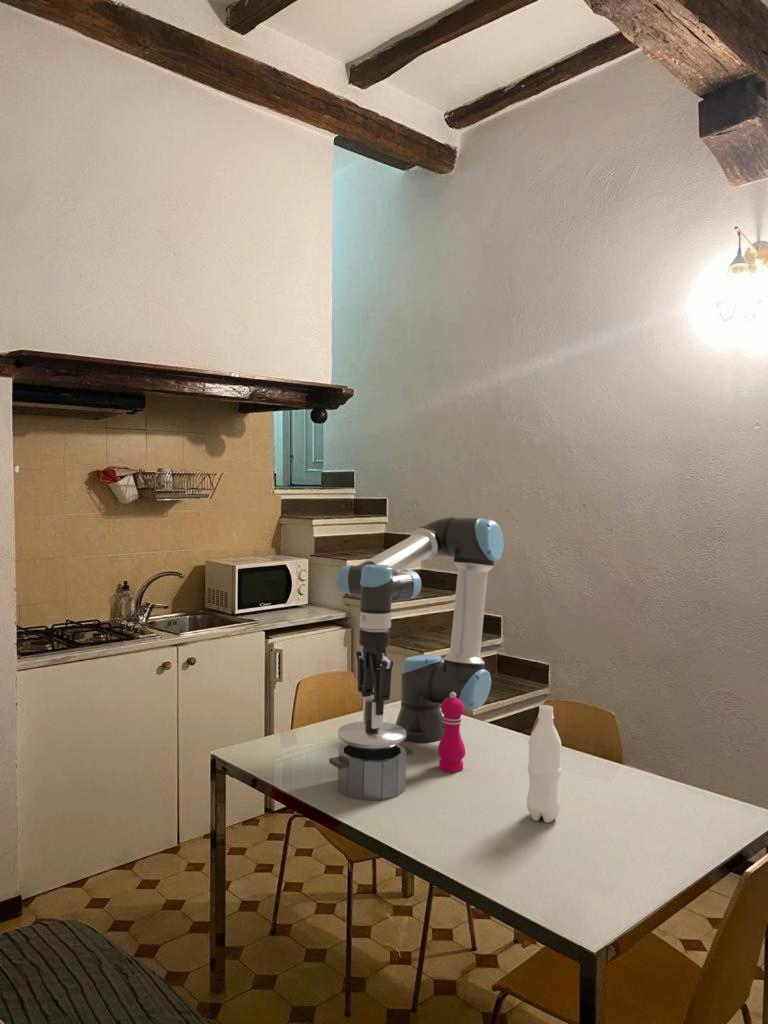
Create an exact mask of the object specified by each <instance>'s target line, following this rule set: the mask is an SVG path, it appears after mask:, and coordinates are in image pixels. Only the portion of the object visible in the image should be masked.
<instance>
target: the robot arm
mask: <svg viewBox="0 0 768 1024" xmlns="http://www.w3.org/2000/svg"><path fill="white" fill-rule="evenodd" d="M504 547H505V541H504V535H503V532H502V530H501V528H500V525H499V524H498V523H497V522H496V521H495V520H492V519H487V518H486V519H485V518H482V517H481V518H474V517H473V518H472V517H471V518H470V517H469V518H467V517H466V518H465V517H454V516H453V517H443V518H439V519H436V520H433V521H431V522H428V523H426V524H424V525H421V526H419V527H418V528H417V529H414V530H413V531H412V532H411V533H410V536H409V537H407V538H405V539H403V540H402V541H399V542H398V543H395V545H393V546H391V547H389V548H388V549H386V550H384V551H382V552H380V553H378V554H376V555H375V556H373V557H371V558H370V559H367V560H366V561H364V562H362V563H360V564H358V565H353V564H350V565H343V566H342V567H340V569H338V572H337V575H336V585H337V586H336V587H337V589H338V590H339V592H340V593H343V594H346V595H351V596H359V597H360V608H359V610H360V614H359V615H360V616H359V627H360V628H361V629H360V630H359V634H358V635H359V637H358V639H359V640H358V641H359V645H360V646H361V647H362V650H360V651H359V650H358V651H356V653H355V655H356V659H357V691H358V692H359V693H361V696H362V721H363V724H365V721H366V702H367V701H372V727H371V728H372V729H375V728H381V727H383V722H384V710H385V709H384V707H385V706H384V705H385V704H384V703H385V701H389V700H390V699H391V683H392V672H393V671H392V670H393V667H394V666H393V665H394V660H393V659H389V658H388V654H387V647H389V646H390V645H391V630H390V628H391V627H392V603H395V602H401V601H408V600H409V601H410V600H412V599H414V598H416V597H417V596H418V595H419V594H420V592H421V590H422V580H421V576H420V575H419V574H418V573H417V572H416V571H415V570H412V569H409V568H411V567H414V566H415V565H416V564H418V563H420V562H421V561H424V560H425V561H428V560H431V559H433V558H435V557H450V558H453V565H454V566H455V568H457V576H456V587H455V596H454V597H455V598H454V606H453V607H454V610H453V617H452V626H451V627H452V630H451V636H450V637H451V638H450V649H449V653H447V655H445V656H444V658H442V656H441V655H439V654H420V655H413V656H409V657H407V658H404V660H403V661H402V664H401V672H400V675H401V682H400V683H401V684H400V685H401V686H400V687H401V688H400V689H401V690H400V693H401V695H400V710H399V712H398V715H397V718H396V722H395V723H394V724H395V725H398V726H401V727H403V728H404V729H405V730H406V739H405V740H404V741H408V742H409V741H411V742H416V743H417V742H418V743H419V742H420V743H424V742H425V743H426V742H427V743H429V742H435V741H441V739H442V737H443V734H444V728H445V726H444V722H443V713H442V711H441V705H442V702H443V701H444V700H445V699H447V698H450V693H451V692H455V693H456V698H458V699H460V700H461V701H462V702H463V704H464V710H470V711H475V710H477V709H479V708H481V707H482V706H483V705H484V703H485V702H486V701H487V699H488V697H489V694H490V692H491V687H492V678H491V673H490V672H489V671H488V670H487V669H485V663H486V662H485V661H484V660H483V658H482V657H481V649H482V648H481V647H482V641H483V640H482V639H483V638H482V637H483V630H484V628H483V627H484V626H483V625H484V617H485V607H486V606H485V604H486V597H487V586H488V575H489V572H490V571H491V570H493V568H494V565H495V562H496V561H499V560H500V559H501V557H502V554H503V553H504ZM442 661H443V662H442Z"/></svg>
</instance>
